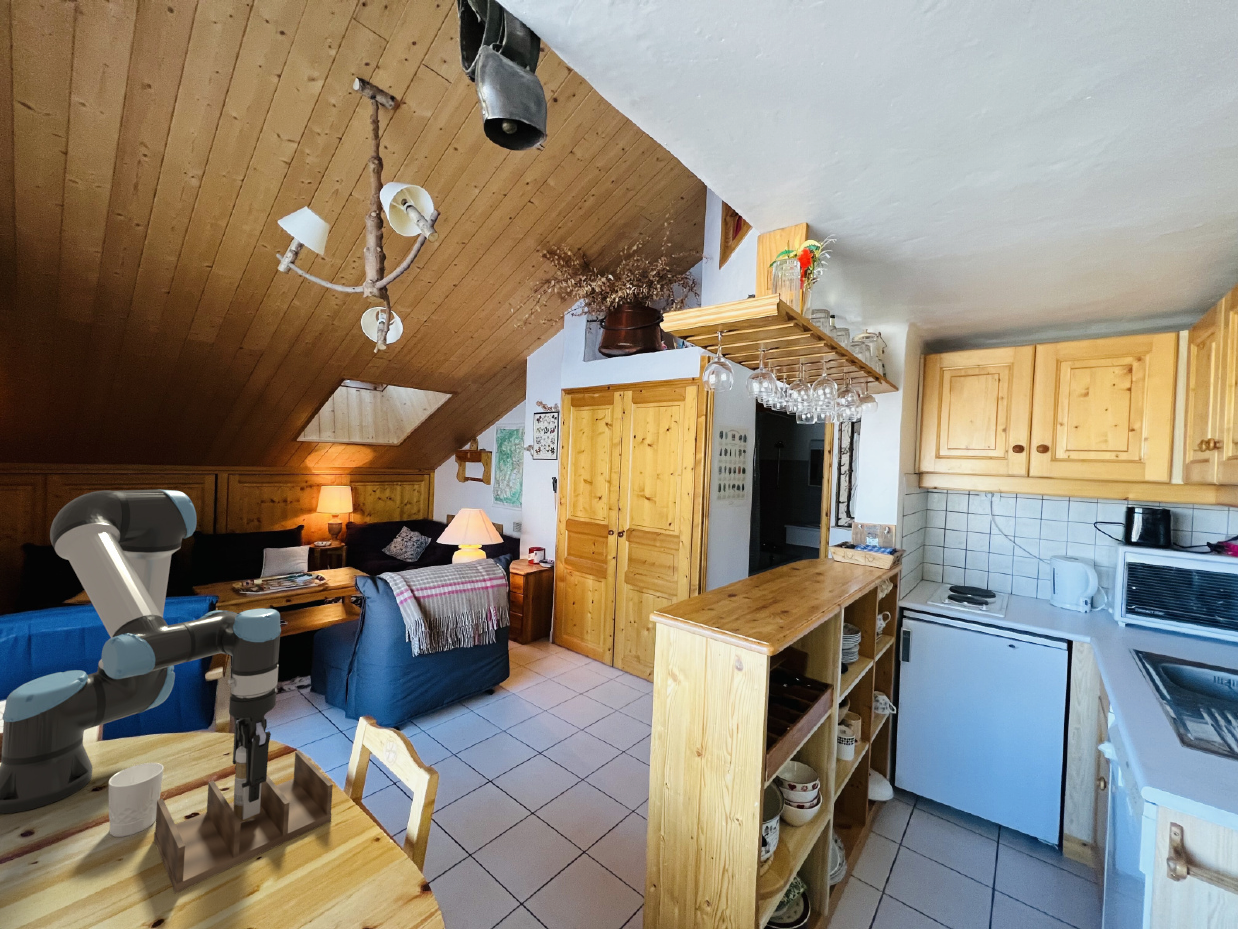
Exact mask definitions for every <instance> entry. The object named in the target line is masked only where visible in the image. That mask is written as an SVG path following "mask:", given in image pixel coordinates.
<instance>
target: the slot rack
mask: <svg viewBox="0 0 1238 929" xmlns="http://www.w3.org/2000/svg"><path fill="white" fill-rule="evenodd" d="M293 768H294V769H293V778H292V779H289V780H287V781H284V782H282V783H278V784H277V785H276V784H275V783H274V781H273V780H272V779H271V778H270V776H269V775H268V774H267V779H266V781H265V782H263V783H261V800H260V809H261V810H260V813H259V814H258V815H257V816H256V817H254V818H252V819H250V820H248V821H244V822H240V821H239V819H238V818H237V816H236V814H235V813H234V801H232V802H228V800H227V799H226V798H225V796H224V794H223V793H222V791H221V790H220V788H219V787H218V785H217V784H216V782H215V781H214V780H211V781H208V783H207V784H208V786H207V800H206V801H207V802H206V803H207V804H206V811H205V812H203V813H201V814H198V815H196V816H194V817H191V818H188V819H185V820H183V821H180V822H177V823H175V822H174V820H173V817H172V815H171V813H170V811H169V808H168V807H167V804H166V803H165V801H164V799H163V798H160V799H159V800H157V810H156V821H155V830H154V834H153V835H154V836H153V841H154V844H155V847H156V849H157V851H158V854H159V856H160V859H161V862H162V864H163V866H164V869H165V872H166V873H167V876H168V879H169V881H170V884H171V886H172V888H173V892H174V894H175V895H177V894H178V893H180V892H182V891H185V890H186V889H188V888H190V887H193V886H195V885H197V884H199V883H202V882H203V881H206V880H208V879H210V878H212V877H214V876H216V875H219V874H221V873H223V872H225V871H227V870H229V869H232V868H233V867H236V866H238V865H240V864H242V863H244V862H247V861H249V860H251V859H253V858H255V857H257V856H259V855H261V854H263V853H266V852H268V851H270V850H273V849H274V848H277V847H278V846H281V845H282V844H285V843H288V842H289V841H292V840H293V839H296V838H297V837H300V836H302V835H305V834H306V833H309V832H310V831H313V830H316V829H317V828H320V827H323V825H325V824H328V823H330V822H332V803H333V800H332V799H333V787H334V784H333V783H332V782H331V781H330V779H328V778H327V777H326V776H325V774H324V773H323V772H321V771H320V770H319V768H317V767H316V765H314V764H313V763H312V762H311V761H310V760H309V759H308V757H307V756H306V755H304V754H303V753H302V751H300V750H297V751H295V752H294V767H293Z"/></svg>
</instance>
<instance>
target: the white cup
mask: <svg viewBox="0 0 1238 929" xmlns="http://www.w3.org/2000/svg"><path fill="white" fill-rule="evenodd" d="M163 776H164V765H163V764H161V763H159V762H145V763H140V764H135V765H133V766H130V767H127V768H124V769H122V770H119V771H117V773H115V774H114V775H112V776H111V777H110V778H109V780H108V820H109V834H110V835H111V836H112V837H127V836H128V837H129V836H131V835H135V834H137V833H140V832H142V831H145V830H146V829H148V828H149V827H151V826H152V825H153V824H154V823H156V810H157V800H159V799H161V792H162V783H163Z"/></svg>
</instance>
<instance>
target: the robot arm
mask: <svg viewBox="0 0 1238 929" xmlns="http://www.w3.org/2000/svg"><path fill="white" fill-rule="evenodd" d="M197 523H198V522H197V512H196V508H195V506H194V503H193V501H192V500H191V498H190V497H189V496H188V495H187V494H186V493H184V492H183V491H179V490H170V489H159V488H158V489H139V490H137V489H136V490H135V489H131V490H128V489H127V490H97V491H91V492H88V493H85V494H82V495H80V496H78V497H76V498H73V500H71V501H69V502H68V503H67V504H65V505H64V506H63V507H62V508H61V509H60V510H59V511H58V513H57V514H56V516H55V517H54V518H53V521H52V523H51V526H50V531H49V538H50V542H51V545H52V548H53V549H54V551H55V553H56V555H58V556H59V557H60V558H62V559H64V560H68V561H69V563H70V565H71V567H72V569H73V571H74V572H75V574H76V576H77V578H78V580H79V582H80V583H81V586H82V588H83V589H84V591H85V593H86V594H87V596H88V598H89V600H90V602H91V604H92V607H94V609H95V611H96V613H97V614H98V616H99V618H100V620H101V622H102V625H103V626H104V628H105V630H106V631H107V634H108V635H109V637H110V638H108V640H106V641H105V643H104V645H103V647H102V649H101V650H102V651H101V658H100V660H99V661H98V664H97V665H98V666H97V670H96V672H93V673H90V674H87V672H86V671H84V670H78V669H77V670H76V669H74V670H66V671H64V672H61V671H59V672H55V673H51V674H47V675H44V676H40V677H38V678H36V679H33V680H30V681H28V682H26V683H23V684H22V685H20V686H18V687H17V688H16V689H14V690H12V691H11V692H10V693H9V695H7V697H6V699H5V706H4V711H3V714H2V720H3V727H2V743H1V758H0V759H1V761H0V814H13V813H14V814H15V813H20V812H26V811H30V810H33V809H37V808H42V807H44V806H47V805H50V804H52V803H56V802H58V801H61V800H62V799H65V798H68V797H69V796H71V795H73V794H75V793H76V792H78V791H80V790H81V789H83V788H84V787H85V786H86V785H88V783H90V781H92V778H93V764H92V762H91V759H90V757H89V754H88V753H87V750H86V748H85V746H84V732H85V731H86V730H89V729H93V728H94V727H97V726H102V725H105V724H107V723H111V722H114V721H117V720H120V719H123V718H127V717H129V716H133V715H136V714H137V715H138V714H141V713H144V712H145V711H148V710H150V709H153V708H156V707H158V706H160V705H161V704H163V703H164V702H165V701H166V700H167V699H168V698H169V696H170V694H171V692H172V690H173V688H174V685H175V678H176V673H175V672H174V670H175V666H176V665H179V664H183V663H184V664H185V663H188V662H192V661H196V660H200V659H203V658H207V657H210V656H214V655H217V654H223V655H227V656H230V657H231V678H229V679H228V680H227V684H228V685H230V693H231V695H230V697H229V706H228V708H229V709H228V713H229V716H231V717H232V718H233V719H234V720H233V721H234V729H233V730H234V732H233V733H234V734H233V748H232V749H233V750H232V751H233V752H232V764H233V765H235V767H234V769H235V771H236V760H235V758H236V750H237V749H238V748H239V747H240V746H243V747H244V748H246V783H243V784H242V788H244V792H243V809H242V819H243V820H244V819H246V818H249V817H251V816H254V815H256V814H259V813H260V800H261V783H263V782H265V781H266V779H267V775H268V760H269V746H270V745H269V744H270V741H271V735H272V733H271V731H266V729H267V728H268V727H267V725H268V724H267V723H268V721H267V718H265V716H266V714H268V712H271V711H272V710H273V709H274V708H275V707H276V703H277V686H278V679H279V654H280V640H281V632H282V628H281V614H280V612H279V611H278V610H277V609H273V608H254V609H248V610H243V611H241V612H239V613H237V612H234V611H229V610H213V611H209V612H207V613H205V614H204V615H203V616H201V617H200V618H198V619H194V620H193V619H192V620H189V621H186V622H180V623H175V624H169V625H168V624H167V622H166V620H165V619H164V611H165V605H166V604H165V603H166V596H167V589H168V582H169V574H170V569H171V568H170V567H171V560H172V555H173V554H174V553H175V552H177V551H179V550H180V549H181V547H182V541H183V539H187V538H189V537H191V536H193V534H194V532H195V531H196V529H197Z"/></svg>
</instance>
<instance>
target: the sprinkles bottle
mask: <svg viewBox="0 0 1238 929" xmlns="http://www.w3.org/2000/svg"><path fill="white" fill-rule="evenodd" d="M235 760H236V764H235V766H236V770H235V776H234V791H233V802H234V813H235V814H236V816H237V818H238V819H239V821H240V822H244V821H248V820H250V819H252V818H254V817H256V816H257V815H258V814H256V815H254V816H251V817H249V818H246V819H244V820H243V819H242V809H243V792H244V788H242V784H243V783H246V748H244V747H243V746H240V747H239V748H238V749H237V750H236V758H235ZM260 810H261V809H260Z"/></svg>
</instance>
